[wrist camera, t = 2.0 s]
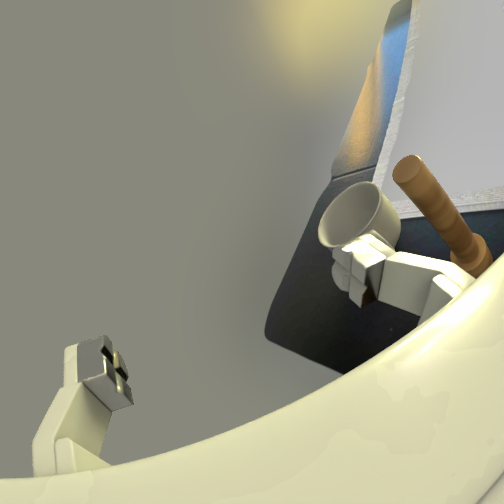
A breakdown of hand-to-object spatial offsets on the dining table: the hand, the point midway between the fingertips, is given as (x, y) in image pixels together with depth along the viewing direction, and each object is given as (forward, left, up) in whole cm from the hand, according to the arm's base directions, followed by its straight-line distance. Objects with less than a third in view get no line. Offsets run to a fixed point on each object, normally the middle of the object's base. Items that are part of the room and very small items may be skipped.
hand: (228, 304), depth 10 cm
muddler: (+11, -10, -26) cm, 30 cm away
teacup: (+25, -4, -26) cm, 36 cm away
